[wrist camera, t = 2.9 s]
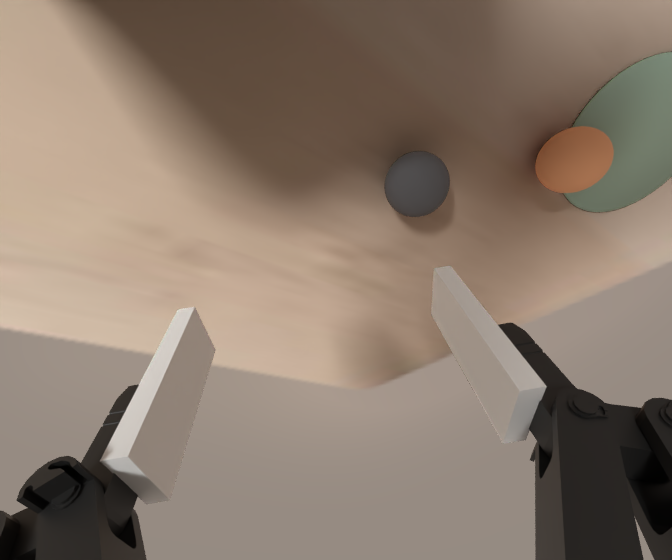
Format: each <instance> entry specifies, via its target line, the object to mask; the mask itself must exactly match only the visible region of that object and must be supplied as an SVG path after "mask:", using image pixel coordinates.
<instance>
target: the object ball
mask: <svg viewBox="0 0 672 560" xmlns="http://www.w3.org/2000/svg"><path fill="white" fill-rule="evenodd" d="M613 155H614V149H613V145H612V142H611V140H610V139H609V137H608V136H607V135H606V134H605V133H604V132H602V131H600V130H598V129H596V128H593V127H587V126H579V127H572V128H569V129H566V130H563V131H561V132H559V133H557V134H556V135H554V136H553V137H552V138H550V139H549V140H548V141H547V142H546V143H545V144H544V145H543V147H542V148H541V150H540V151H539V153H538V156H537V159H536V164H535V170H536V175H537V177H538V179H539V181H540V182H541V183H542V184H543V185H544V186H545V187H546V188H548V189H550V190H552V191H555V192H559V193H573V192H578V191H581V190H584V189H587V188H589V187H591V186H592V185H594V184H595V183H597V182H598V181H599V180H600V179H601V178H602V177H603V176H604V175H605V174H606V173H607V171H608V170H609V168H610V166H611V164H612V161H613Z"/></svg>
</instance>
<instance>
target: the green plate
mask: <svg viewBox="0 0 672 560" xmlns="http://www.w3.org/2000/svg"><path fill="white" fill-rule="evenodd" d="M579 126H587V127H593V128H596V129H598V130H600V131H602V132H604V133H605V134H606V135H607V136H608V137H609V139H610V140H611V142H612V145H613V149H614V155H613V161H612V164H611V166H610V168H609V170H608V171H607V173H606V174H605V175H604V176H603V177H602V178H601V179H600V180H599V181H598V182H597V183H595V184H594V185H592V186H591V187H589V188H587V189H584V190H581V191H578V192H573V193H564V195H565V196H566V198H567V199H568V200H569V201H570V202H571V203H572V204H573V205H575V206H576V207H578V208H580V209H583V210H586V211H591V212H606V211H612V210H617V209H620V208H623V207H626V206H628V205H630V204H633V203H635V202H637V201H639V200H640V199H642V198H644V197H646V196H647V195H649V194H650V193H652V192H653V191H655V190H656V189H657V188H659V187H660V186H661V185H663V184H664V183H665V182H666V181H667V180H668V179H669V178H671V177H672V52H666V53H661V54H657V55H654V56H651V57H648V58H645V59H643V60H641V61H639V62H637V63H635V64H633V65H631V66H630V67H628V68H627V69H625V70H624V71H622V72H621V73H619V74H618V75H617V76H615V77H614V78H613V79H611V80H610V81H609V82H608V83H607V84H606V85H605V86H604V87H602V88H601V89H600V90H599V91H598V92H597V94H596V95H595V96H594V97H593V98H592V99H591V100H590V101H589V103H588V104H587V105H586V106H585V108H584V109H583V110H582V112H581V113H580V115H579V116H578V118H577V119H576V121H575V123H574V124H573V126H572V127H579Z"/></svg>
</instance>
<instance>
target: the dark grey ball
mask: <svg viewBox="0 0 672 560" xmlns="http://www.w3.org/2000/svg"><path fill="white" fill-rule="evenodd" d="M449 185H450V179H449V173H448V170H447V168H446V166H445V164H444V163H443V162H442V161H441V160H440V159H439V158H438V157H437V156H435V155H434V154H431V153H428V152H424V151H415V152H410V153H407V154H405V155H403V156H402V157H400V158H399V159H397V160H396V161H395V162H394V163H393V164H392V166H391V167H390V169H389V171H388V173H387V175H386V179H385V194H386V197H387V200H388V202H389V203H390V205H391V206H392V207H393V208H394V209H395V210H396V211H397V212H399V213H401V214H403V215H405V216H410V217H420V216H424V215H427V214H429V213H431V212H433V211H435V210H436V209H437V208H438V207H439V206H440V205H441V204H442V203H443V201H444V200H445V198H446V196H447V193H448V190H449Z"/></svg>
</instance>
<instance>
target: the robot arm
mask: <svg viewBox="0 0 672 560" xmlns="http://www.w3.org/2000/svg"><path fill="white" fill-rule="evenodd" d="M431 315H432V317H433V319H434V320H435V322H436V324H437V326H438V328H439V329H440V331H441V333H442V335H443V337H444V339H445V340H446V342H447V344H448V346H449V348H450V349H451V351H452V353H453V355H454V357H455V358H456V360H457V362H458V363H459V366H460V367H461V369H462V371H463V373H464V375H465V376H466V378H467V380H468V382H469V384H470V385H471V387H472V389H473V391H474V393H475V394H476V396H477V398H478V400H479V402H480V404H481V405H482V407H483V409H484V411H485V413H486V414H487V416H488V418H489V420H490V421H491V423H492V425H493V427H494V429H495V431H496V432H497V434H498V436H499V438H500V439H501V441H502V443H503V444H504V443H510V442H515V441H522V440H526V438H527V435H528V433H529V430H530V431H531V432H532V434H533V435H534V437H535V438H536V440H537V443H536V445H535V447H534V450H533V453H532V455H531V458H530V460H531V461H534V460H535V496H536V497H535V498H536V499H535V507H536V509H535V510H536V512H535V516H536V520H535V521H536V560H643V555H642V551H641V546H640V541H639V536H638V532H637V527H636V522H635V518H636V520H637V522H638V525H639V526H640V529H641V531H642V533H643V536H644V538H645V540H646V542H647V544H648V547H649V549H650V551H651V553H652V555H653V557H654V559H655V560H672V400H669V399H664V398H652V399H650V400H648V401H646V402H645V403H644V405H643V406H642V408H637V407H629V406H621V405H612V404H607V403H604V402H603V401H602V400H601V399H599V398H598V397H596V396H595V395H593V394H591V393H589V392H586V391H584V390H580V389H577V388H576V387H575V386H574V385H573V384H572V383H571V382H570V381H569V380H568V379H567V378H566V376H565V375H564V374H563V373H562V372H561V371H560V370H559V368H558V367H557V366H556V365H555V364H554V363H553V362H552V361H551V359H550V358H549V357H548V356H547V355H546V354H545V353H543V351H542V349H541V348H540V347H539V346H538V345H537V344H535V342H534V340H533V339H532V338H531V337H530V336H529V335H528V334H527V332H526V331H524V330H523V329H521V328H520V327H518V326H517V325H515V324H513V323H506V324H500V325H497V323H496V322H495V321H494V320H493V318H492V317H491V316H490V315H489V313H488V312H487V311H486V310H485V308H484V307H483V306H482V305H481V303H480V302H479V301H478V300H477V298H476V297H475V296H474V295H473V293H472V292H471V291H470V290H469V288H468V287H467V286H466V285H465V283H464V282H463V281H462V280H461V278H460V277H459V276H458V274H457V273H456V272H455V271H454V269H453V268H452V267H451V266H444V267H438V268H434V274H433V291H432V309H431ZM214 353H215V348H214V345H213V343H212V341H211V339H210V337H209V335H208V333H207V331H206V329H205V327H204V325H203V323H202V321H201V319H200V317H199V314H198V312H197V310H196V308H195V307H190V308H184V309H178V310H177V312H176V314H175V316H174V318H173V320H172V322H171V324H170V326H169V328H168V330H167V332H166V333H165V335H164V337H163V339H162V341H161V343H160V345H159V347H158V349H157V351H156V353H155V355H154V357H153V359H152V361H151V363H150V365H149V367H148V368H147V370H146V373H145V374H144V376H143V378H142V380H141V382H140V384H139V385H133V386H129V387H128V388H127V389H126V390H125V391H124V392H123V393H122V394H121V395H120V396H119V397H118V399H117V400H116V402H115V403H114V405H113V407H112V409H111V410H110V414H109V415H108V416H107V418H106V419H105V421H104V423H103V427H101V428H100V430H99V432H98V434H97V436H96V437H95V439H94V441H93V443H92V444H91V446H90V448H89V450H88V452H87V453H86V455H85V457H84V459H83V460H82V462H81V463H80V462H78V461H77V460H76V459H75V458H73V457H70V456H64V457H59V458H56V459H54V460H52V461H50V462H48V463H47V464H45V465H44V466H42V467H41V468H39V469H38V470H37V471H36V472H35V473H34V474H33V475H32V476H31V477H30V478H29V479H28V480H27V481H26V482H25V484H24V485H23V487H22V488H21V490H20V492H19V495H18V498H17V501H18V502H20V503H21V504H23V505H25V506H26V507H28V508H27V509H24V510H22V511H20V512H18V513H16V514H14V515H12V516H10V515H9V514H7V513H5V512H4V511H0V560H146V555H145V550H144V545H143V540H142V535H141V530H140V525H139V520H138V516H137V514H136V512H135V510H134V509H133V507H134V505H135V502H136V499H137V497H139V498H140V499H141V500H142V501H143V502H144V503H145V504H150V503H157V502H162V501H168V500H170V498H171V495H172V492H173V489H174V485H175V482H176V479H177V475H178V472H179V469H180V465H181V462H182V458H183V455H184V452H185V449H186V445H187V442H188V439H189V436H190V432H191V429H192V426H193V422H194V419H195V415H196V413H197V409H198V405H199V402H200V399H201V396H202V393H203V389H204V386H205V383H206V379H207V376H208V373H209V369H210V366H211V363H212V360H213V356H214ZM634 516H635V518H634Z"/></svg>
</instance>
